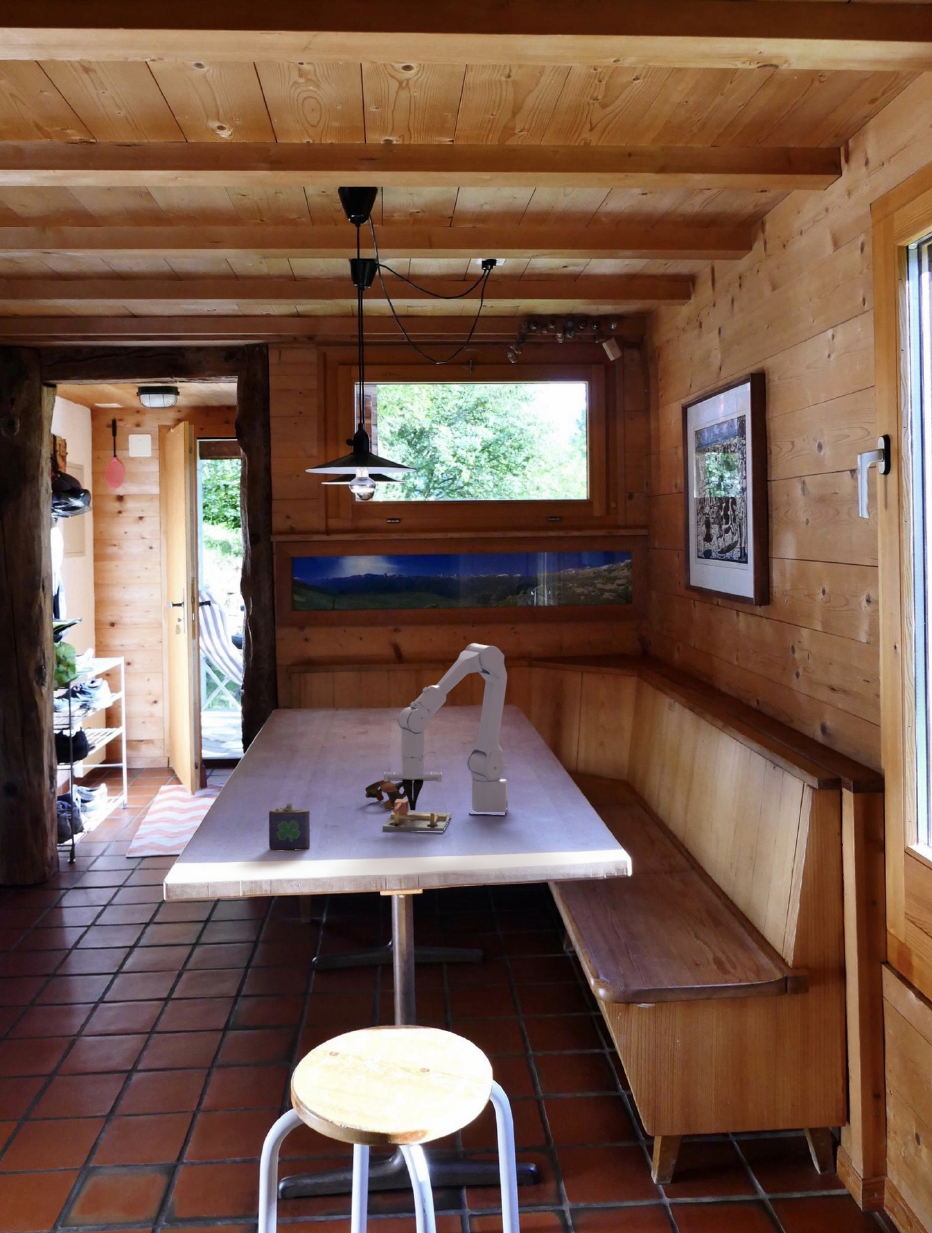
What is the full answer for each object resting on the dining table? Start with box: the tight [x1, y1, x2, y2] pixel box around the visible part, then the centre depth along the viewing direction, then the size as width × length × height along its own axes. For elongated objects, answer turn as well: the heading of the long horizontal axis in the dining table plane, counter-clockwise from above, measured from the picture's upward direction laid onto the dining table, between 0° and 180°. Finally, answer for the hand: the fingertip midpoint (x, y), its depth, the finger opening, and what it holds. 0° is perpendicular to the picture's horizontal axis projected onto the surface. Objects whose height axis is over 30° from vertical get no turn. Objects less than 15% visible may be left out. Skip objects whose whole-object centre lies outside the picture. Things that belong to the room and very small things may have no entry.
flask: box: [268, 802, 311, 851], centre depth 216 cm, size 9×3×11 cm, turn 95°
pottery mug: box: [364, 779, 407, 810], centre depth 256 cm, size 12×10×8 cm
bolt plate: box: [382, 811, 453, 832], centre depth 237 cm, size 15×14×1 cm
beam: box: [390, 811, 447, 826], centre depth 235 cm, size 14×7×3 cm, turn 83°
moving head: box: [393, 798, 410, 823], centre depth 235 cm, size 3×9×4 cm, turn 173°
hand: (412, 809), depth 238 cm, fingers closed
